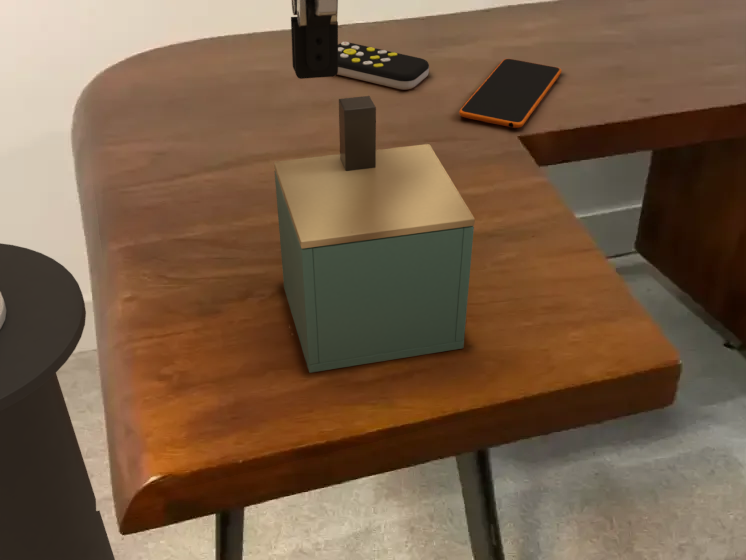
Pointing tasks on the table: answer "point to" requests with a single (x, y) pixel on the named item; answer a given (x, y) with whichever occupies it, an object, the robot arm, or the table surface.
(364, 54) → the remote control
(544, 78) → the smartphone
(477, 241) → the table surface
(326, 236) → the slide lid
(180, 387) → the table surface
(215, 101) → the table surface
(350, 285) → the box
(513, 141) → the table surface
